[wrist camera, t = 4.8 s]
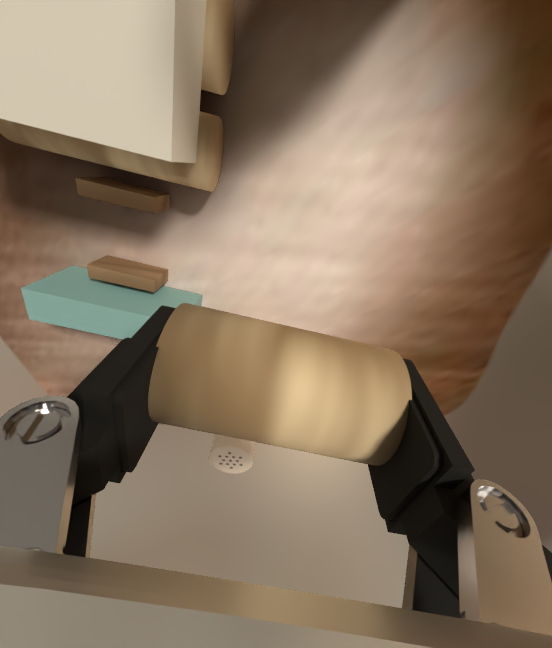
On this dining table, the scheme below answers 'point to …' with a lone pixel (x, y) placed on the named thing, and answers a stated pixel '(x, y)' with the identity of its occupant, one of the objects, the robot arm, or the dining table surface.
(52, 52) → the slab
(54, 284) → the block
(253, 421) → the roller
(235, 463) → the pepper shaker
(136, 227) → the dining table surface
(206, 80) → the roller track
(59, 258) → the dining table surface
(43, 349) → the dining table surface
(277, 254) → the dining table surface
